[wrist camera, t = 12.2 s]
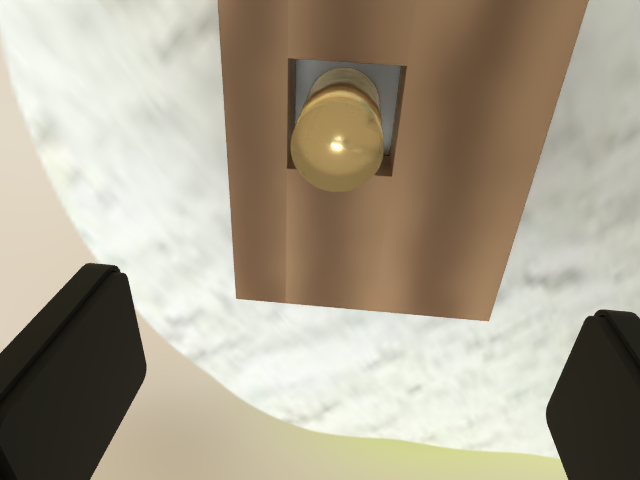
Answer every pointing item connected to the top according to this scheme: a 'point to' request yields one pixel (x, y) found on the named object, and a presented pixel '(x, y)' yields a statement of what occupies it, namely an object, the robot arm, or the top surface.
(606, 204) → the top surface
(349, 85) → the brass cylinder
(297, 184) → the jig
